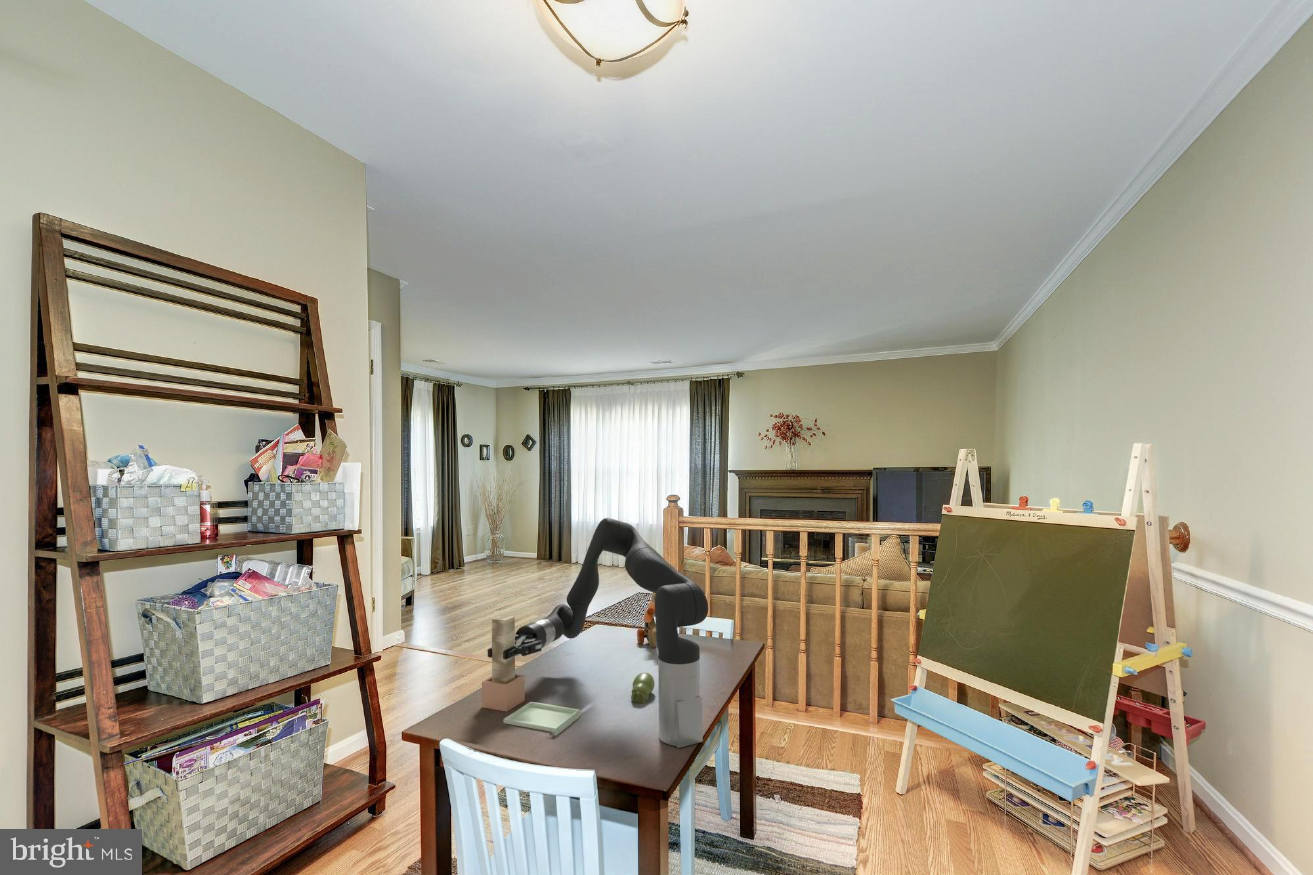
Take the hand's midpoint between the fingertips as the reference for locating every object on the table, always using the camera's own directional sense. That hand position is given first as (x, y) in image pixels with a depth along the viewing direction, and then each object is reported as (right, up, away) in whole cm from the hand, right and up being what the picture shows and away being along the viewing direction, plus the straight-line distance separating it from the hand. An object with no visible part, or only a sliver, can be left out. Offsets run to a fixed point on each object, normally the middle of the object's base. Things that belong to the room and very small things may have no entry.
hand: (496, 654), depth 147 cm
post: (+1, -12, +2) cm, 12 cm away
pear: (+36, -14, +8) cm, 39 cm away
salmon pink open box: (+1, -14, +2) cm, 14 cm away
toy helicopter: (+38, -16, +49) cm, 64 cm away
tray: (+13, -13, -7) cm, 19 cm away
